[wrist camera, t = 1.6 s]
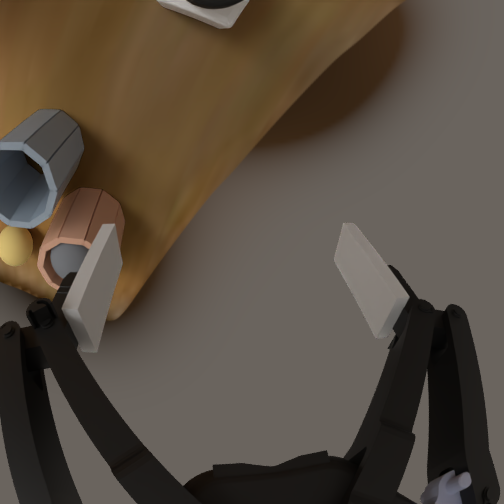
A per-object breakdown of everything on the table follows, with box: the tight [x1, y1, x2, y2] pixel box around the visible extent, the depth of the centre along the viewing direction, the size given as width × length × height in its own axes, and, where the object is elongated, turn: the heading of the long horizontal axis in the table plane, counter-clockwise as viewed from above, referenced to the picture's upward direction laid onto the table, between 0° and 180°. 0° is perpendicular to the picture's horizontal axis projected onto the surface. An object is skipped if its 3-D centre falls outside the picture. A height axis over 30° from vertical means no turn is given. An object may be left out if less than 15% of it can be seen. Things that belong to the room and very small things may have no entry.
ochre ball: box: [0, 225, 33, 266], centre depth 32 cm, size 6×6×6 cm
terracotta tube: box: [37, 187, 125, 290], centre depth 33 cm, size 10×10×10 cm
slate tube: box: [0, 109, 84, 229], centre depth 24 cm, size 10×10×10 cm
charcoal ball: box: [50, 243, 89, 278], centre depth 30 cm, size 6×6×6 cm
